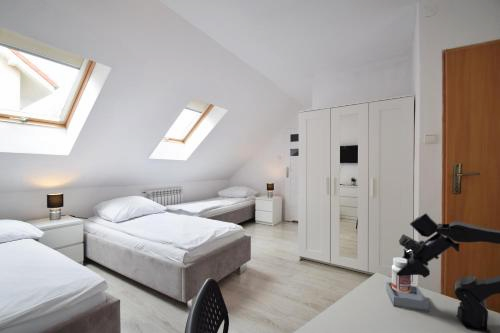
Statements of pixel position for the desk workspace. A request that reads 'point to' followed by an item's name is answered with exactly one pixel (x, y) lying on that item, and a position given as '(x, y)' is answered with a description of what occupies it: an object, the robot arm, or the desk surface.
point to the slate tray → (408, 298)
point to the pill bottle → (400, 282)
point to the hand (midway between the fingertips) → (396, 271)
